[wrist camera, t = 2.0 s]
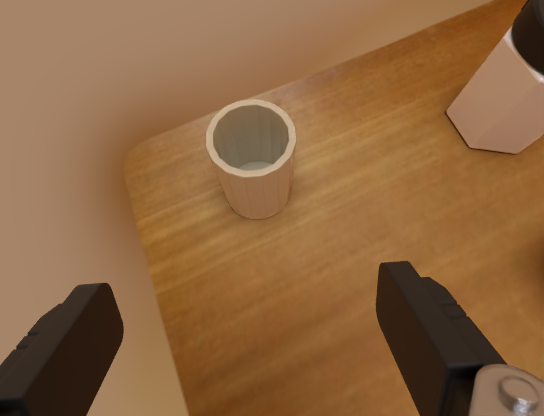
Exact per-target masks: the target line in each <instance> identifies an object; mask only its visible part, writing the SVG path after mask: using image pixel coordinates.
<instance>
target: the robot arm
mask: <svg viewBox="0 0 544 416" xmlns="http://www.w3.org/2000/svg"><path fill="white" fill-rule="evenodd" d="M376 313H377V318H378V322H379V325H380V327H381V330H382V332H383V334H384V336H385V339H386V341H387V343H388V345H389V347H390V350H391V352H392V354H393V356H394V359H395V361H396V363H397V365H398V368H399V370H400V372H401V374H402V376H403V379H404V381H405V383H406V385H407V388H408V390H409V392H410V394H411V397H412V399H413V401H414V403H415V405H416V408H417V410H418V412H419V414H420V416H544V382H543V381H541V380H540V379H538V378H537V377H535V376H534V375H532V374H530V373H528V372H526V371H524V370H522V369H519V368H516V367H513V366H509V365H507V363H506V362H505V361H504V360H503V359H502V357H501V356H500V355H499V354H498V352H497V351H496V350H495V349H494V347H493V346H492V345H491V344H490V342H489V341H488V340H487V339H486V338H485V336H484V335H483V334H482V333H481V331H480V330H479V329H478V328H477V326H476V325H475V324H474V323H473V321H472V320H471V319H470V318H469V317H467V316H466V313H465V312H464V310H463V309H462V308H461V307H460V305H457V302H456V300H455V299H454V298H453V297H452V295H451V294H450V293H449V292H448V290H447V289H446V288H445V287H443V286H442V285H440V284H439V283H437V282H436V281H434V280H433V279H431V278H430V277H422V278H421V277H420V276H419V274H418V273H417V272H416V270H415V269H414V268H413V266H412V265H411V264H410V263H409V262H408V261H400V262H387V263H381V264H380V266H379V273H378V285H377V297H376ZM123 330H124V329H123V321H122V318H121V316H120V312H119V310H118V307H117V304H116V301H115V298H114V295H113V292H112V289H111V287H110V286H109V284H107V283H97V284H84V285H78V286H77V287H75V288H74V290H73V291H72V292H71V293H70V295H69V296H68V297H67V298H66V300H65V301H64V302H63V303H62V304H58V305H57V306H56V307H54V308H53V309H52V310H50V311H49V312H48V313H46V314H45V315H43V316H42V317H41V318H40V319H39V320H38V321H37V323H36V324H35V325H34V326H33V327H32V328H31V330H30V331H29V332H28V335H27V336H25V337H24V338H23V339H22V340H21V341H20V343H19V344H18V345H17V346H16V347H17V348H16V350H13V351H12V352H11V353H10V354H9V356H8V357H7V358H6V359H5V360H4V362H3V363H2V364H1V365H0V416H86V415H87V413H88V411H89V409H90V406H91V405H92V403H93V400H94V398H95V396H96V394H97V392H98V390H99V388H100V386H101V384H102V382H103V380H104V378H105V376H106V374H107V372H108V370H109V368H110V366H111V364H112V361H113V359H114V357H115V355H116V353H117V351H118V349H119V347H120V345H121V342H122V339H123V332H124V331H123Z"/></svg>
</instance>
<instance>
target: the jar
mask: <svg viewBox="0 0 544 416" xmlns="http://www.w3.org/2000/svg"><path fill="white" fill-rule="evenodd" d="M446 113H447V115H448V116H449V118H450V119H451V121H452V122H453V124H454V125H455V127H456V128H457V130H458V131H459V133H460V134H461V136H462V137H463V139H464V140H465V142H466V143H467V145H468V146H469V147H470V148H476V149H484V150H491V151H499V152H506V153H513V154H518V153H519V152H521V151H522V150H524V149H525V148H526V147H528V146H529V145H530V144H532V143H533V142H535V141H536V140H537V139H539V138H540V137H541V136H543V135H544V0H528V1H527V2H526V3H525V5H524V6H523V7H522V9H521V12H520V13H519V14H518V16H517V17H516V19H515V20H514V23H513V25H512V26H511V27H510V29H509V30H508V31H507V32H506V34H505V35H504V36H503V38H502V39H501V40H500V41H499V43H498V44H497V45H496V47H495V48H494V49H493V51H492V52H491V53H490V54H489V56H488V57H487V58H486V60H485V61H484V62H483V63H482V65H481V66H480V67H479V69H478V70H477V71H476V73H475V74H474V75H473V76H472V78H471V79H470V80H469V82H468V83H467V84H466V85H465V87H464V88H463V89H462V91H461V92H460V93H459V95H458V96H457V97H456V98H455V100H454V101H453V102H452V104H451V105H450V106H449V108H448V109H447V110H446Z"/></svg>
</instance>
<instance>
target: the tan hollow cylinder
mask: <svg viewBox="0 0 544 416" xmlns="http://www.w3.org/2000/svg"><path fill="white" fill-rule="evenodd" d="M206 148H207V151H208V154H209V156H210V159H211V161H212V164H213V166H214V169H215V171H216V174H217V177H218V179H219V182H220V184H221V187H222V189H223V192H224V194H225V197H226V199H227V201H228V203H229V205H230V206H231V208H232V209H233V210H234V211H235V212H237V213H238V214H239V215H241V216H243V217H246V218H249V219H265V218H269V217H271V216H273V215H275V214H277V213H278V212H280V211H281V210H282V209H283V208H284V206H285V205H286V203H287V202H288V199H289V197H290V192H291V187H292V177H293V168H294V158H295V148H296V134H295V126H294V124H293V123H292V121H291V119H290V118H289V116H288V114H287V113H286V112H285V111H283V110H282V109H280V108H279V107H278V106H276V105H275V104H273V103H270V102H266V101H262V100H259V99H252V100H241V101H238V102H235V103H233V104H230V105H228V106H225V107H224V108H223V109H222V110H221V111H220V112H218V113H217V114H216V115H215V116H214V117H213V118H212V121H211V123H210V125H209V127H208V129H207V131H206Z"/></svg>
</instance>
